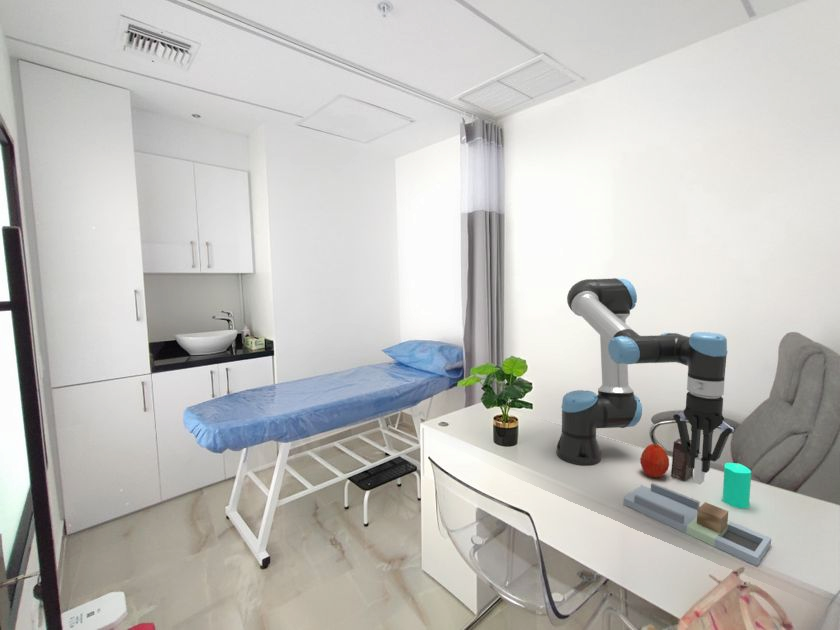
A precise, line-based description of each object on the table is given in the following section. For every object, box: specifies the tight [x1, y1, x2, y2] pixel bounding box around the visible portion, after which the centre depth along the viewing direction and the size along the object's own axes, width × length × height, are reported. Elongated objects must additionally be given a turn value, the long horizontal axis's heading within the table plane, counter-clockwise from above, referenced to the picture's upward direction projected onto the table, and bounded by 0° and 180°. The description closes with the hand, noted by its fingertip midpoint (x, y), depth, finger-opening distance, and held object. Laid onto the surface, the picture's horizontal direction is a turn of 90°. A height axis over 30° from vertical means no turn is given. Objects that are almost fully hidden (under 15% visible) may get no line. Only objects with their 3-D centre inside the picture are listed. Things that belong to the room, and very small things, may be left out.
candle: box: [722, 462, 752, 510], centre depth 111 cm, size 6×6×12 cm
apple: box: [639, 443, 670, 478], centre depth 127 cm, size 8×8×11 cm
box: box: [670, 438, 694, 482], centre depth 125 cm, size 6×4×12 cm
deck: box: [622, 482, 772, 567], centre depth 103 cm, size 30×11×4 cm, turn 36°
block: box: [697, 501, 729, 534], centre depth 99 cm, size 5×5×4 cm
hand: (698, 481), depth 101 cm, fingers closed
